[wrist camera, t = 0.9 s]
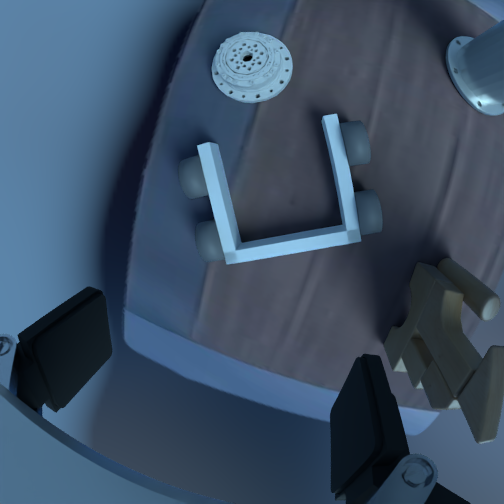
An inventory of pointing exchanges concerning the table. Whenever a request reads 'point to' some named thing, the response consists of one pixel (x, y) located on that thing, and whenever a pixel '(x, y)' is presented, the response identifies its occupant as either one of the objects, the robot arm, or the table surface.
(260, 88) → the mechanical component
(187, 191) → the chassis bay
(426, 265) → the wooden toy
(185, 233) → the table surface
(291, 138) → the table surface
